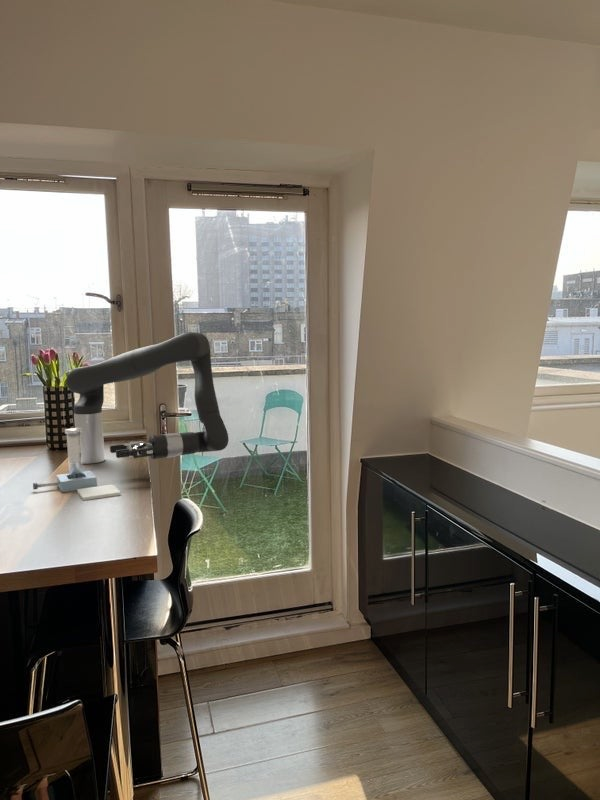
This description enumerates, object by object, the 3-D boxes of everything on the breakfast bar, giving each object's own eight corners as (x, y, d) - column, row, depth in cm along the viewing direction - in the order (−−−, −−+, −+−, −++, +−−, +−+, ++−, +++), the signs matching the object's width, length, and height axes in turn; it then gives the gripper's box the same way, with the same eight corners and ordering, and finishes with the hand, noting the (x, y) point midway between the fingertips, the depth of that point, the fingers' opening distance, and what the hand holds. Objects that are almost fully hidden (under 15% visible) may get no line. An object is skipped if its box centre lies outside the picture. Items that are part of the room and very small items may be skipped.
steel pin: (67, 485, 184) (63, 428, 182) (83, 483, 187) (80, 427, 185) (69, 488, 180) (66, 431, 178) (86, 486, 183) (82, 429, 181)
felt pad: (77, 491, 177) (77, 489, 177) (113, 487, 182) (112, 484, 182) (83, 500, 168) (83, 497, 168) (120, 494, 173) (120, 492, 173)
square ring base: (32, 487, 182) (31, 478, 182) (91, 480, 190) (90, 470, 190) (35, 495, 174) (34, 485, 173) (97, 487, 182) (96, 477, 181)
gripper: (158, 430, 201) (107, 436, 193) (172, 437, 189) (117, 443, 181) (160, 453, 202) (108, 459, 194) (173, 461, 189) (119, 468, 182)
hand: (113, 451), depth 188 cm, fingers open, 8 cm apart
